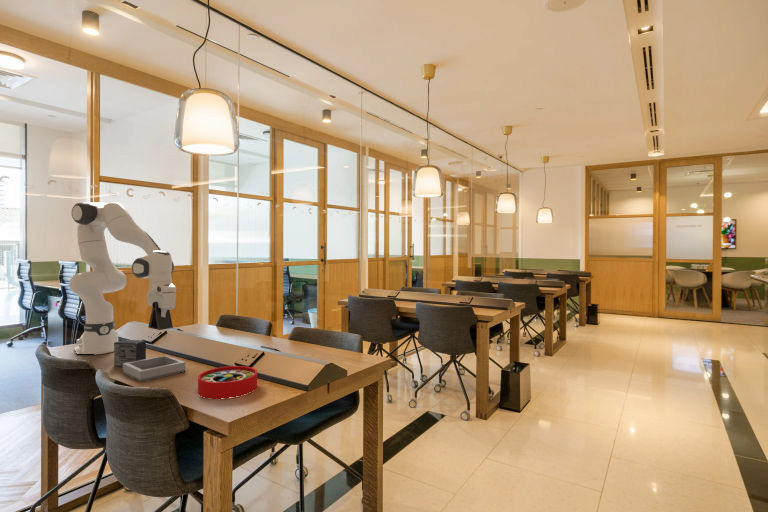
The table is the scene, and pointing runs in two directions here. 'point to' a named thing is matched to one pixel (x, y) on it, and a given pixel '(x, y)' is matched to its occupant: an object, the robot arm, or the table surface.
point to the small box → (129, 351)
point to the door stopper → (159, 318)
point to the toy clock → (227, 382)
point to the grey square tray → (153, 368)
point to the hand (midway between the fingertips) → (160, 317)
